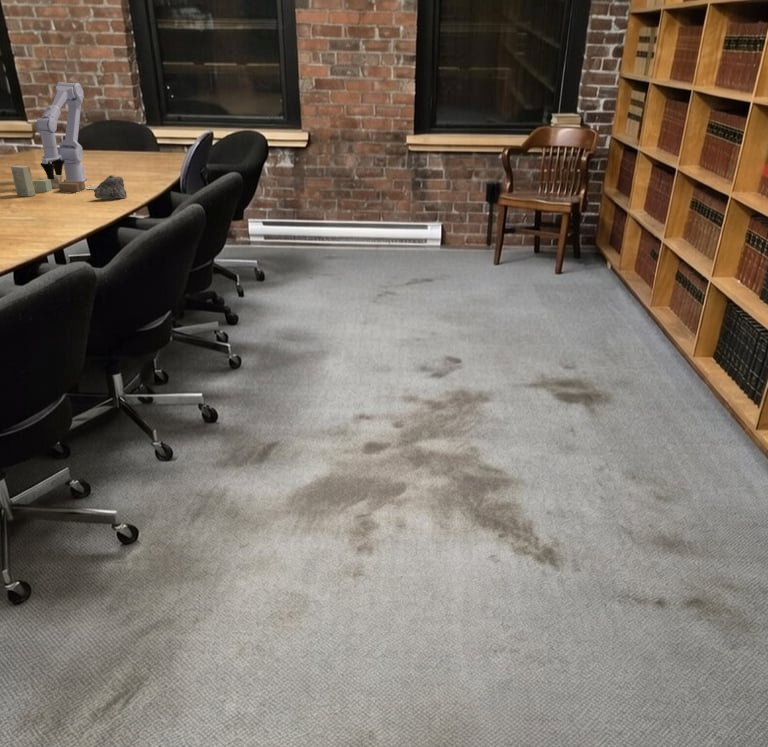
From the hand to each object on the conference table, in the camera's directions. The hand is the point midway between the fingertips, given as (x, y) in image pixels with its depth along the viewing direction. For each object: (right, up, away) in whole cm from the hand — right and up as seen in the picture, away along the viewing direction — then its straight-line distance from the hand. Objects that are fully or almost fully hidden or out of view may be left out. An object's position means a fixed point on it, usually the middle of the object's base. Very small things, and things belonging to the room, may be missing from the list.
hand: (55, 177), depth 299 cm
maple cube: (0, -4, +2) cm, 4 cm away
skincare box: (-5, -13, -16) cm, 21 cm away
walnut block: (+10, -7, -3) cm, 12 cm away
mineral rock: (+31, -14, -14) cm, 37 cm away
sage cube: (-1, -8, -7) cm, 11 cm away
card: (+16, -3, +5) cm, 17 cm away
